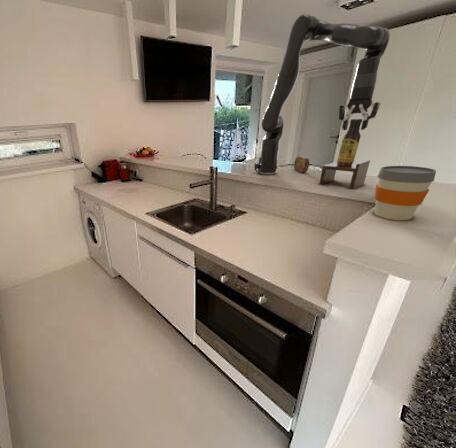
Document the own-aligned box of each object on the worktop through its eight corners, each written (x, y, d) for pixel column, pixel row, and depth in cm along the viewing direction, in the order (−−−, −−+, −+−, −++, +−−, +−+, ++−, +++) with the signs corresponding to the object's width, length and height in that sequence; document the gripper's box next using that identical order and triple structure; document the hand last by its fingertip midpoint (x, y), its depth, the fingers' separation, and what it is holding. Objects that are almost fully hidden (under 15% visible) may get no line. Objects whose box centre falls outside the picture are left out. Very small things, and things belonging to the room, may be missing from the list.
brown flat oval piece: (293, 169, 156) (295, 155, 153) (298, 168, 156) (300, 155, 152) (302, 173, 142) (305, 159, 139) (308, 173, 142) (311, 158, 139)
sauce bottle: (333, 165, 116) (342, 119, 108) (341, 163, 118) (351, 118, 110) (348, 166, 110) (359, 119, 103) (356, 165, 113) (368, 118, 105)
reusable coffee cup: (357, 210, 86) (369, 167, 80) (392, 207, 86) (405, 164, 81) (392, 224, 74) (408, 174, 68) (431, 220, 75) (451, 171, 69)
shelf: (319, 184, 120) (323, 161, 116) (330, 179, 126) (335, 158, 122) (353, 189, 109) (359, 164, 105) (363, 184, 115) (370, 160, 111)
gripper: (389, 84, 98) (377, 128, 104) (347, 89, 109) (338, 129, 115) (382, 83, 94) (370, 130, 101) (339, 89, 105) (331, 130, 112)
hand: (353, 129), depth 108 cm, fingers open, 6 cm apart
